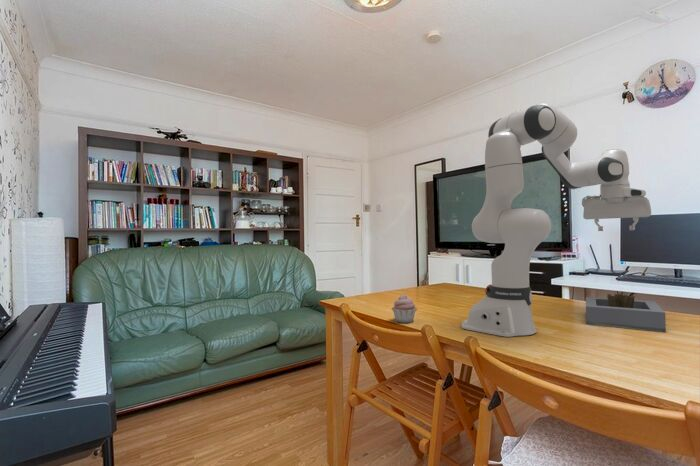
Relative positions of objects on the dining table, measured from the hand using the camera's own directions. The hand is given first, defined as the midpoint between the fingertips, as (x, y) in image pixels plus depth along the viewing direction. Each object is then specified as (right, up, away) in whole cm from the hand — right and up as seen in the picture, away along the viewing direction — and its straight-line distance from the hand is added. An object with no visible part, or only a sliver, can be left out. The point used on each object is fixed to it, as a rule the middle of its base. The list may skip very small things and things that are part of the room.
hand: (616, 230), depth 130 cm
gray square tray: (-7, -31, -11) cm, 34 cm away
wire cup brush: (-7, -31, -11) cm, 33 cm away
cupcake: (-80, -34, -3) cm, 87 cm away
